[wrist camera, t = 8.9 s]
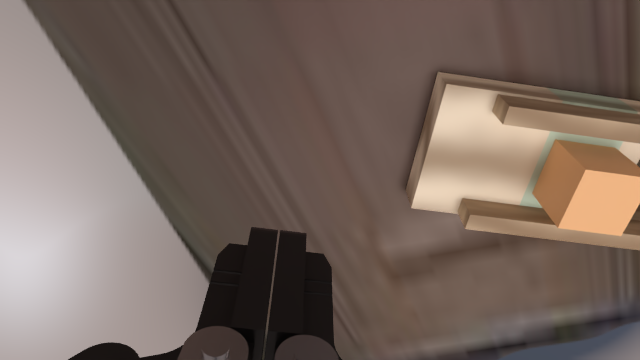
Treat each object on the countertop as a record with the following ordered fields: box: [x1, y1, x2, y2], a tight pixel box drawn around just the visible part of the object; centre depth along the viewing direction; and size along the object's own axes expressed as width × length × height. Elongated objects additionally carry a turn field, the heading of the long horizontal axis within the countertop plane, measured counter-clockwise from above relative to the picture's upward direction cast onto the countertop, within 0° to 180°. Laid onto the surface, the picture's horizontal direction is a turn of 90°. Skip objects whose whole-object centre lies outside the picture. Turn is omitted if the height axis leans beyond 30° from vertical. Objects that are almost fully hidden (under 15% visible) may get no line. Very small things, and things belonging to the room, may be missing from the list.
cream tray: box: [406, 72, 640, 250], centre depth 39 cm, size 11×23×6 cm, turn 82°
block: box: [532, 139, 640, 236], centre depth 37 cm, size 5×5×5 cm
